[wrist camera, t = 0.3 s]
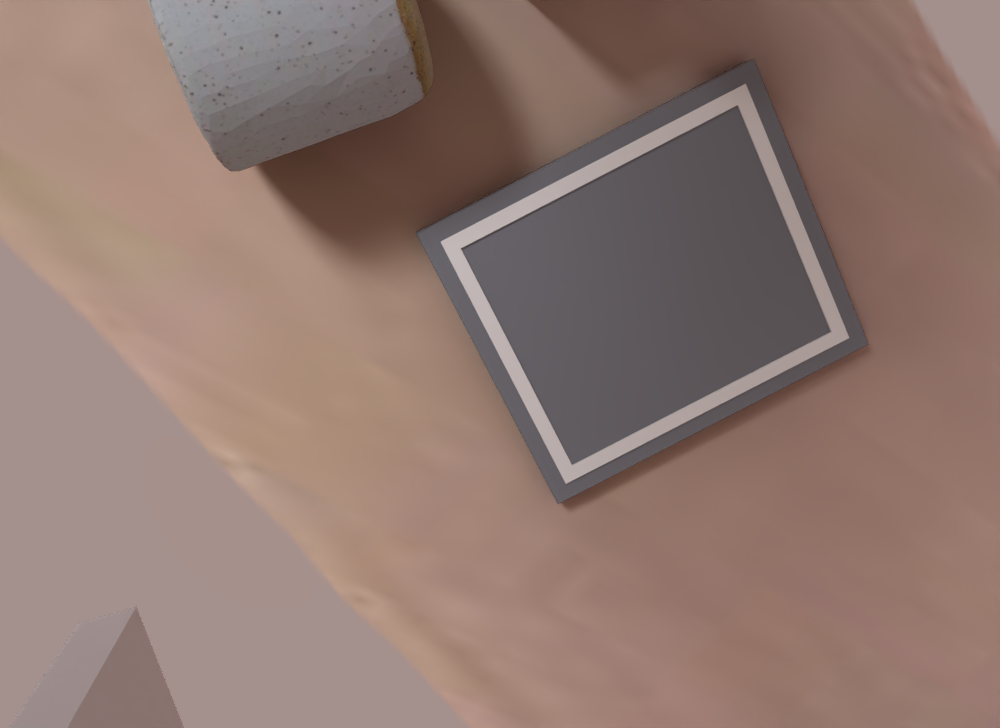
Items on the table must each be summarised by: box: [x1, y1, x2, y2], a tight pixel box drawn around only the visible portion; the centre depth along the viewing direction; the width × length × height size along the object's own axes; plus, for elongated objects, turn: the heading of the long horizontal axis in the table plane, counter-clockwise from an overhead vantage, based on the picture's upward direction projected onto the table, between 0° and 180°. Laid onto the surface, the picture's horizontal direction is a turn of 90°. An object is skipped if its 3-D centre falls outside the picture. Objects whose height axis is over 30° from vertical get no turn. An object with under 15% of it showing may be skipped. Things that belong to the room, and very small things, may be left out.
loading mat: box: [416, 59, 868, 504], centre depth 39 cm, size 13×15×1 cm
